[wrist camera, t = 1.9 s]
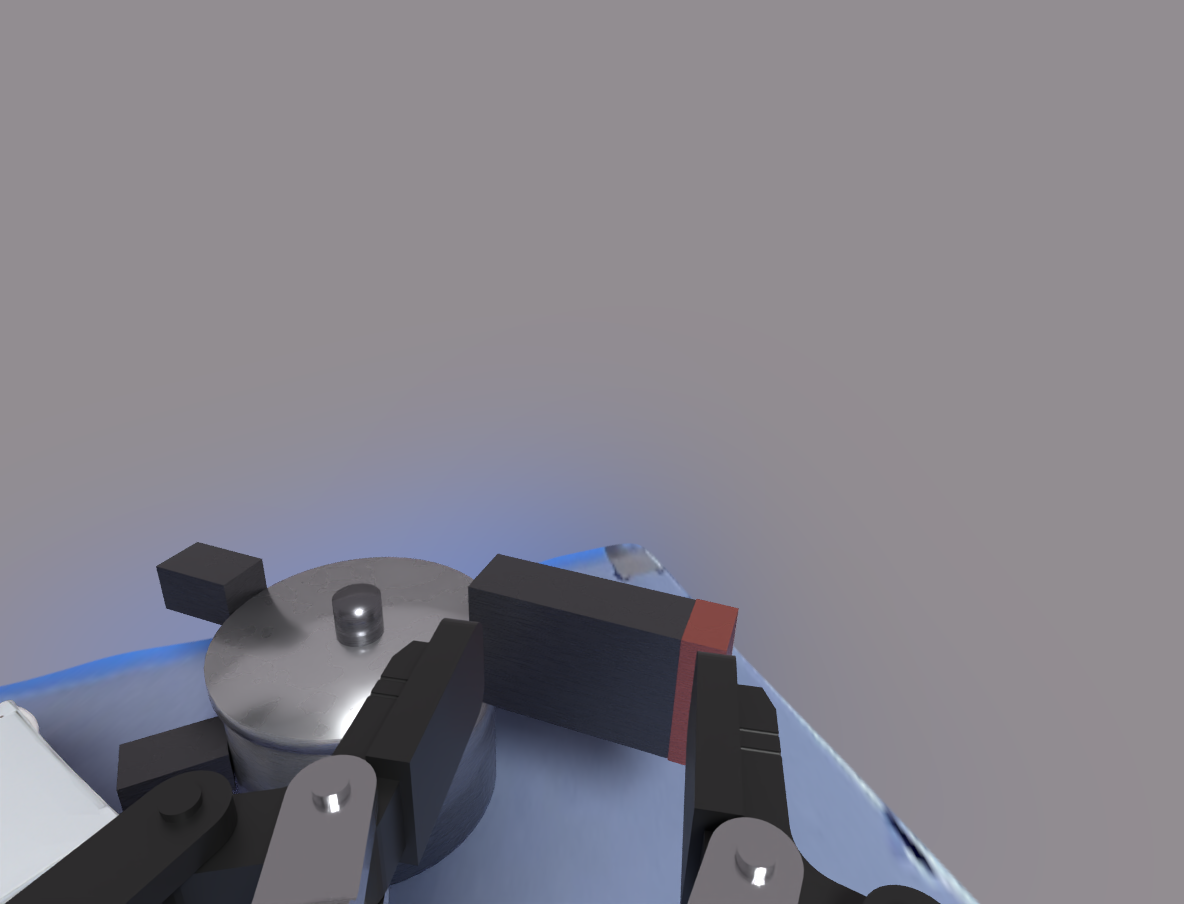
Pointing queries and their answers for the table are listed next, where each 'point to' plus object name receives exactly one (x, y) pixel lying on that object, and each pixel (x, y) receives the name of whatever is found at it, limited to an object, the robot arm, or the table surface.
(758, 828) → the robot arm
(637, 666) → the lid
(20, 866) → the supplement box
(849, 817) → the table surface
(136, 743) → the pot
